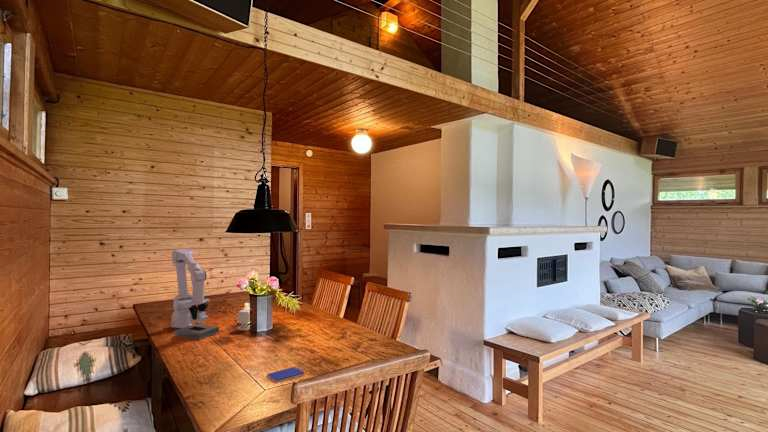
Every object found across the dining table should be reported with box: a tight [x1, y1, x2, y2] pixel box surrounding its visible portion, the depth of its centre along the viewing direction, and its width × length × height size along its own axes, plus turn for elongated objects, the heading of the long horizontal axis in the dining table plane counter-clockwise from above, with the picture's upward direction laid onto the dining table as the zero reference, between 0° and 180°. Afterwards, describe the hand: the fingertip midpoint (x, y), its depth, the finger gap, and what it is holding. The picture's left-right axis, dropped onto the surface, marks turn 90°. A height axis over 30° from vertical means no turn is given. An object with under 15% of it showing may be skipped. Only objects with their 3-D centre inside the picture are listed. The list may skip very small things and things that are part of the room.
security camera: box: [236, 308, 251, 331], centre depth 223 cm, size 6×7×10 cm
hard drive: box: [266, 366, 305, 383], centre depth 159 cm, size 2×8×12 cm
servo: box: [187, 310, 209, 324], centre depth 210 cm, size 11×4×6 cm, turn 71°
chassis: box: [174, 323, 220, 341], centre depth 210 cm, size 16×14×3 cm
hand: (197, 318), depth 210 cm, fingers closed on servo, 4 cm apart
